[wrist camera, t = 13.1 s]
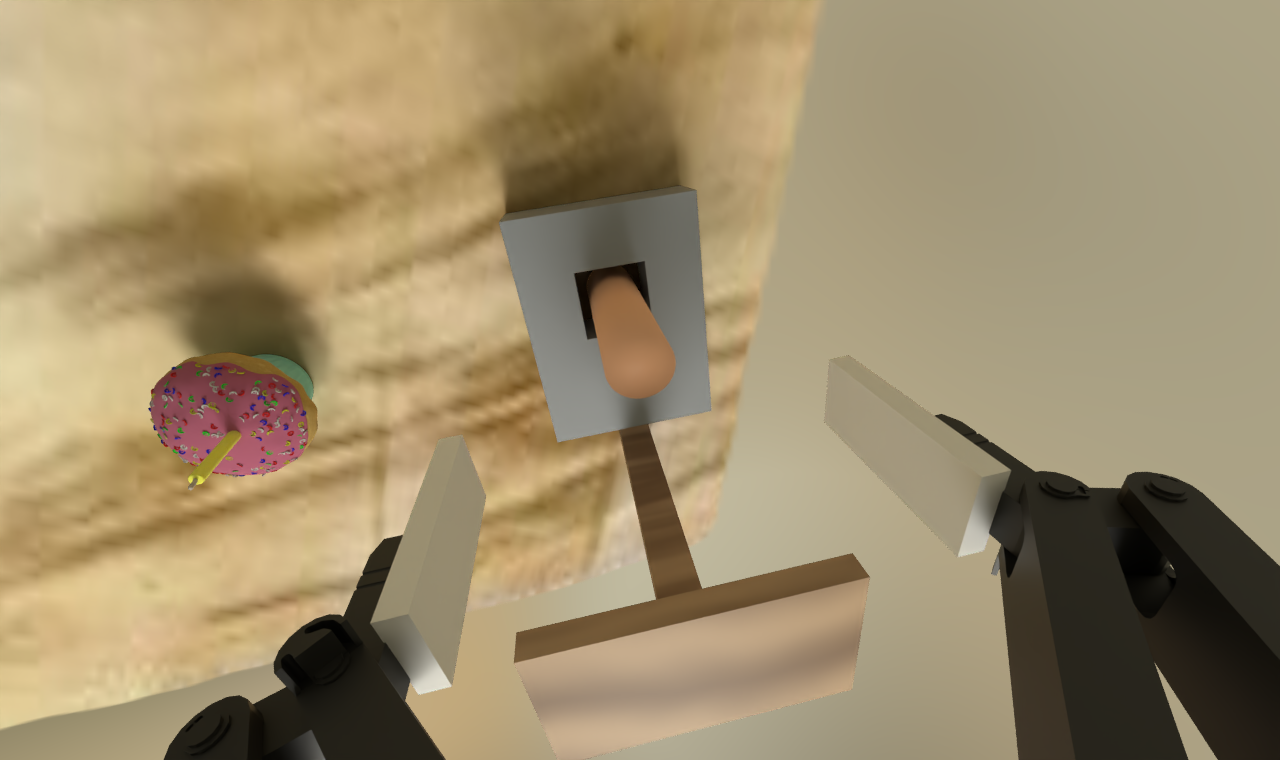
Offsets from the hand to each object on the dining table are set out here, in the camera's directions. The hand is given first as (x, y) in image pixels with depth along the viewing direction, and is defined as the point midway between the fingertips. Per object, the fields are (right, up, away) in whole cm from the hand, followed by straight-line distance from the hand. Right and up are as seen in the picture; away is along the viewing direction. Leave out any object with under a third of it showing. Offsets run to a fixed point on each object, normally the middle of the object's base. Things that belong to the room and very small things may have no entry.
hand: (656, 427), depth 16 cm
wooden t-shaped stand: (-1, -1, +22) cm, 23 cm away
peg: (-3, +9, +17) cm, 20 cm away
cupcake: (-27, +1, +17) cm, 32 cm away
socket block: (-3, +7, +18) cm, 20 cm away
